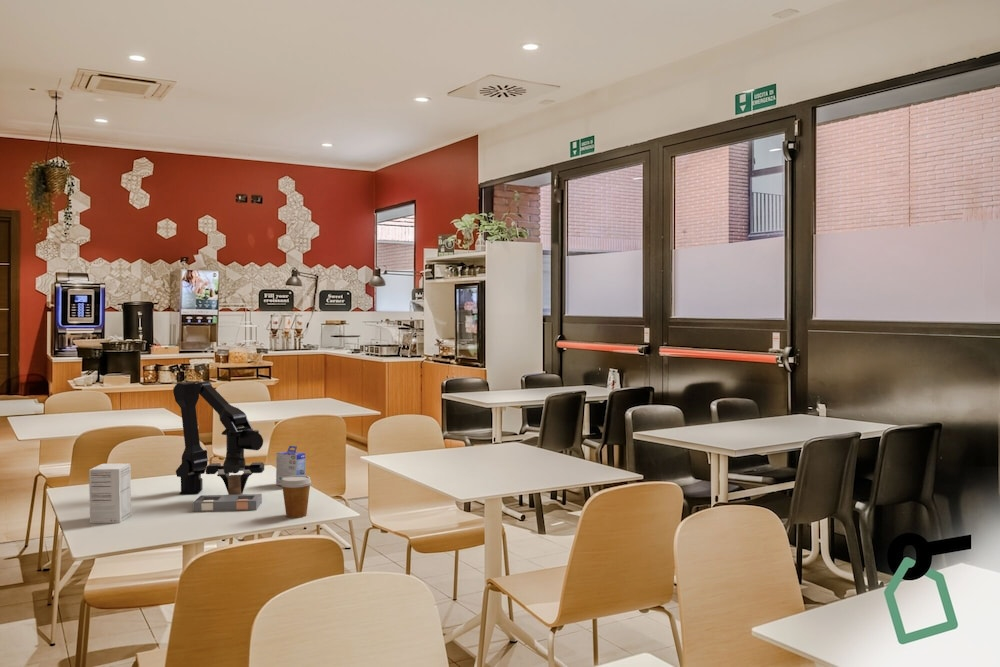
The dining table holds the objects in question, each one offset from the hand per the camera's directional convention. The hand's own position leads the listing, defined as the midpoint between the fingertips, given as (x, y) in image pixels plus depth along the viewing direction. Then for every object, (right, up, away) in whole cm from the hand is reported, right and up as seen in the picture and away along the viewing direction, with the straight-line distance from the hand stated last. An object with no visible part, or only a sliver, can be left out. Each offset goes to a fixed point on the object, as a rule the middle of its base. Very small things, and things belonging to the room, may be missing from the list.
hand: (235, 492), depth 281 cm
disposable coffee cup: (+27, -3, -23) cm, 35 cm away
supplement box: (-30, -3, -28) cm, 41 cm away
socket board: (+1, -2, -12) cm, 12 cm away
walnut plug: (0, -2, 0) cm, 2 cm away
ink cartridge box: (+14, -2, +22) cm, 26 cm away
